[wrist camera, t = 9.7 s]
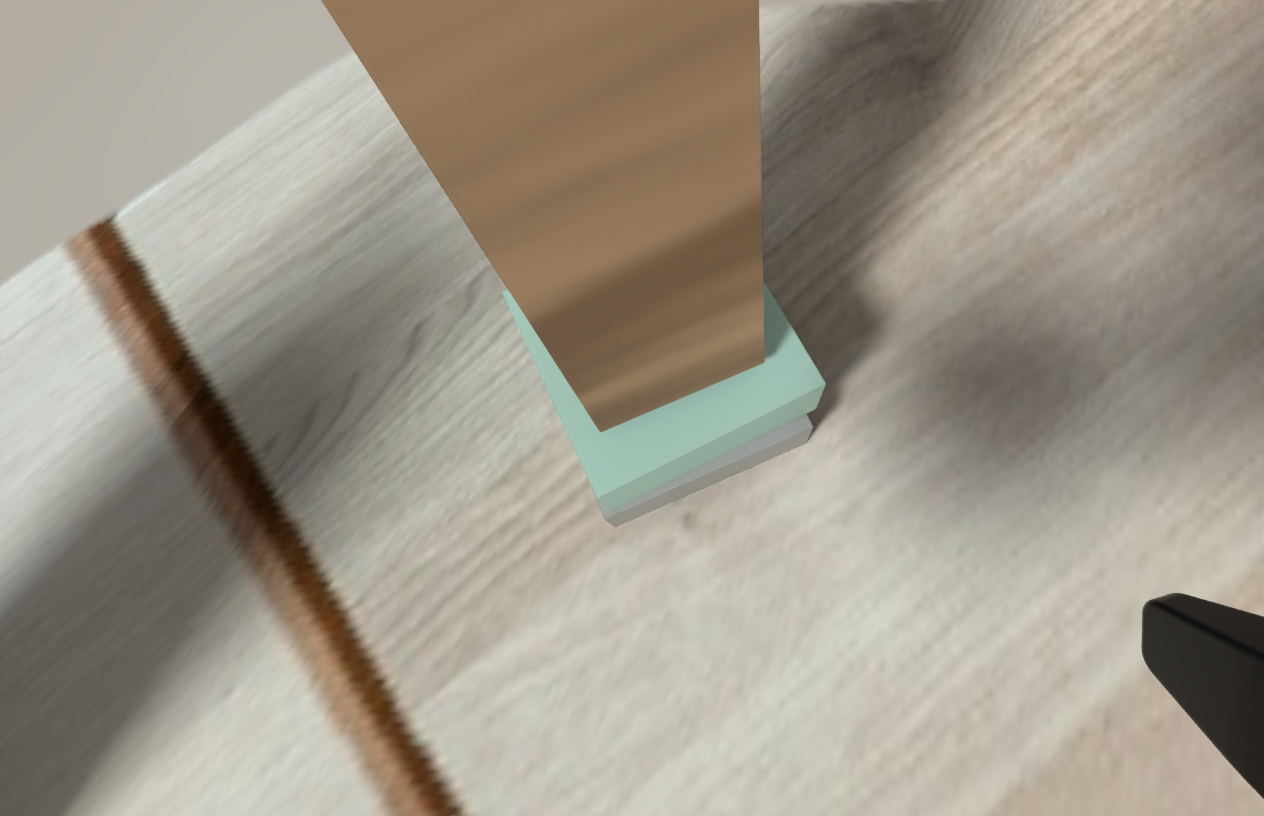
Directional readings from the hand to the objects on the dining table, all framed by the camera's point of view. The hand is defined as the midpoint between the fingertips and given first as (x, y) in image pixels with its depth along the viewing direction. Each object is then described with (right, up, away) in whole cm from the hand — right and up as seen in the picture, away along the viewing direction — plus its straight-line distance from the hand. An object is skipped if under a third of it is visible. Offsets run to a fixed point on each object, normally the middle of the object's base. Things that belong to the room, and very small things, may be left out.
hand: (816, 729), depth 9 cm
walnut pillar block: (-2, +6, +10) cm, 12 cm away
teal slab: (-1, +5, +13) cm, 14 cm away
